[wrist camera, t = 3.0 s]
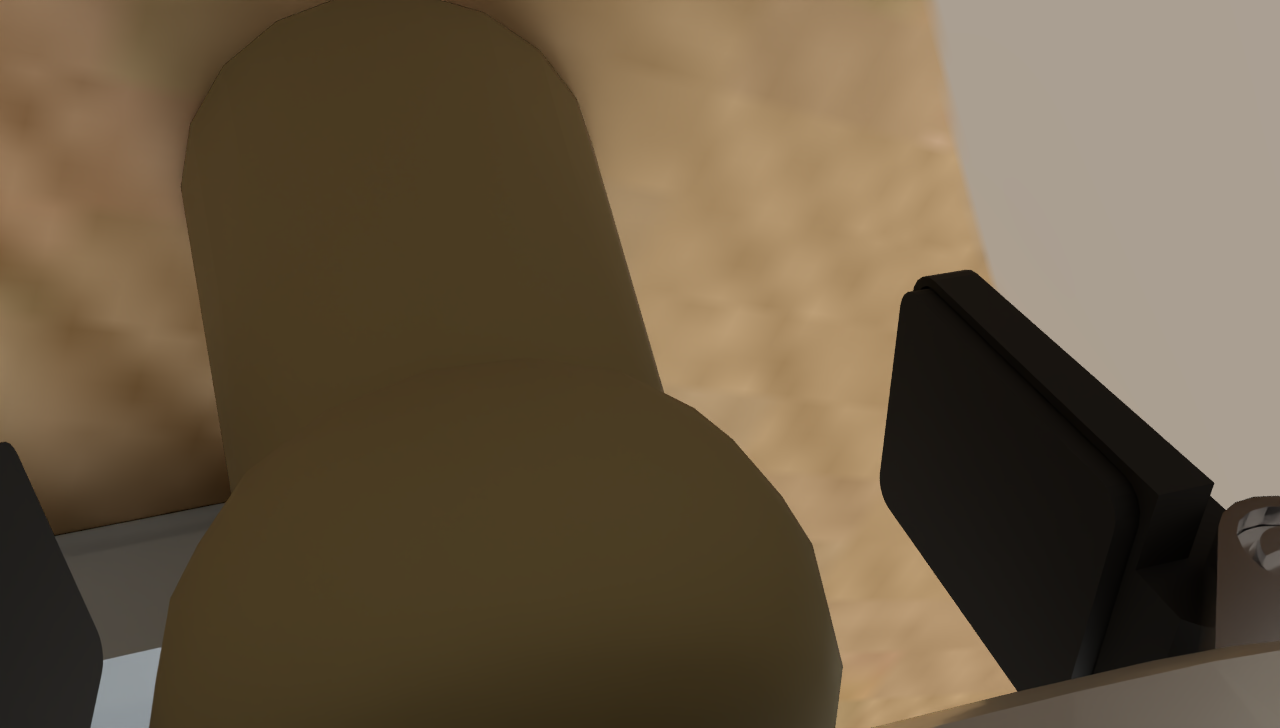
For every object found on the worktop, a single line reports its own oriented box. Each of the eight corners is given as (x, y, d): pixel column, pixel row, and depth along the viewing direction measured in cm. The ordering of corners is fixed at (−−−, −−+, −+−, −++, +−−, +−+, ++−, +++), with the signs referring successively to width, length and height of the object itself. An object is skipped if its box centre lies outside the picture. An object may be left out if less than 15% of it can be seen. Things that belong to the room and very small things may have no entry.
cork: (80, 135, 14) (-252, 943, 5) (475, -94, 14) (822, 343, 5) (342, 429, 18) (408, 1197, 9) (657, 252, 17) (1042, 855, 9)
